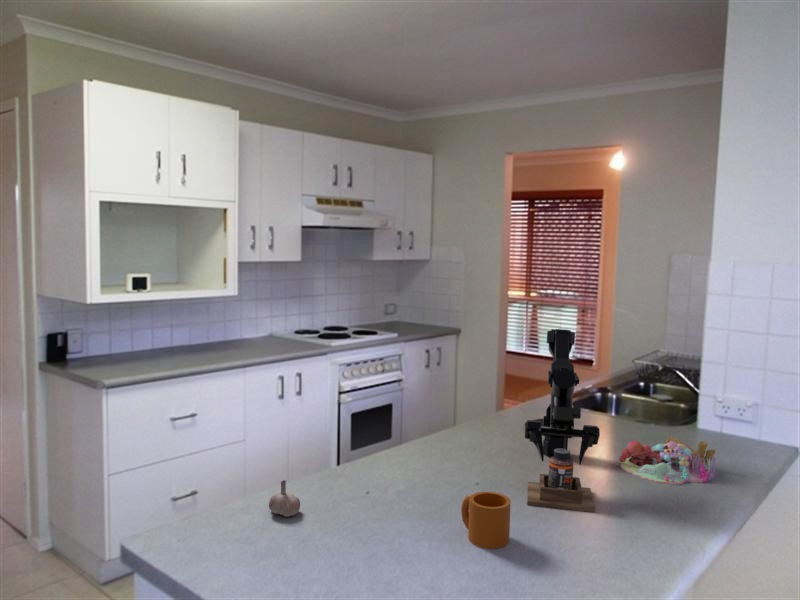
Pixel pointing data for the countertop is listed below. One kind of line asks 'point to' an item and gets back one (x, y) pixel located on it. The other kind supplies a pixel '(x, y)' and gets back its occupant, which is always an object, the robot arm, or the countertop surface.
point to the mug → (487, 519)
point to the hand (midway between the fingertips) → (561, 462)
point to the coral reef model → (669, 462)
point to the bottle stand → (560, 495)
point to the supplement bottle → (560, 470)
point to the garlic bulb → (284, 502)
